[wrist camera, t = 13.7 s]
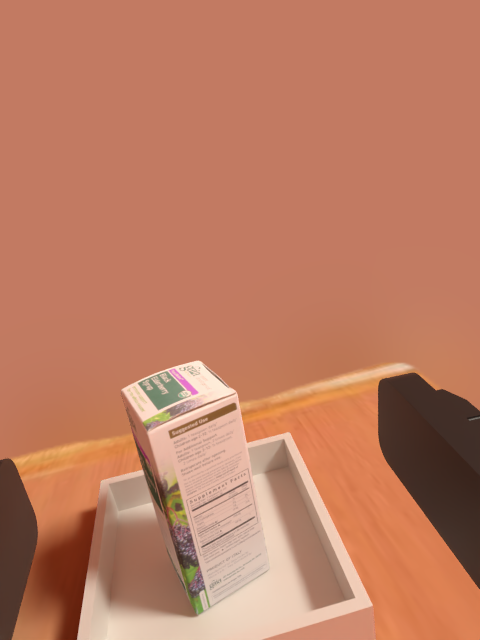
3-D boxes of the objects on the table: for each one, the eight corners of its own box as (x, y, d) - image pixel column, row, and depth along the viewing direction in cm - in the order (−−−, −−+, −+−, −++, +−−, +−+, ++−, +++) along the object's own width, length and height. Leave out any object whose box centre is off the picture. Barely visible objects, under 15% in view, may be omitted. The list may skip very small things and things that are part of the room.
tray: (88, 738, 25) (68, 698, 23) (112, 512, 40) (101, 480, 38) (376, 648, 26) (372, 605, 25) (294, 464, 41) (289, 431, 40)
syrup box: (166, 556, 34) (112, 388, 28) (236, 517, 36) (198, 354, 31) (197, 619, 29) (140, 431, 24) (275, 569, 31) (239, 387, 26)
